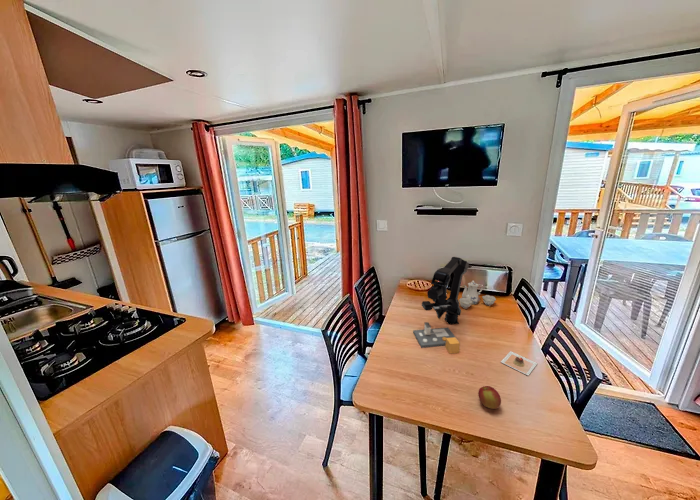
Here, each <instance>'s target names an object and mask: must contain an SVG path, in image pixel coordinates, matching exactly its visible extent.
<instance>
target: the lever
mask: <svg viewBox="0 0 700 500" xmlns="http://www.w3.org/2000/svg"><path fill="white" fill-rule="evenodd" d="M423 327H424V328H423V329H424V333H425V335H431V333H430V331H431V329H432V326H431V324H430V323H429V322H428V321H426V322H424V326H423Z"/></svg>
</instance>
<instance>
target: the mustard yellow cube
mask: <svg viewBox="0 0 700 500" xmlns="http://www.w3.org/2000/svg"><path fill="white" fill-rule="evenodd" d="M455 337H456V336H455ZM455 337H453V338H446V346H444V347H445V350H446V351H447V352H448V354H450V355H452V354H460V347H461V343H459V342H460V340H457V339H458V338H457V337H456V338H457V339H456V338H455Z"/></svg>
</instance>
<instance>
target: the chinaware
mask: <svg viewBox="0 0 700 500" xmlns="http://www.w3.org/2000/svg"><path fill="white" fill-rule="evenodd" d="M467 285H468V286H467ZM467 285H463V286H464V289H463V292H462V295H461V297H460V298H458V301H459V307H462V308H463V309H465V310H466V309H469V307H471V306H472V305H473V306H474V305H478V303H479V302H480V301H481V298H482V299H483V300H482V301H483V302H484V304H485V305H486V306H489V307H490V306H491V305H493V304H494V303H495V302H496V301H497V299H496V297H495V296H493V295H489V294H486V295H482V296H481V298H480V295H481V292H482V291H483V285H482V284H481V283H479V284H478V283H476V281H475V280H472V281H471V282H468V283H467ZM479 286H480V287H481V288H480V290H479V291H478V288H479Z"/></svg>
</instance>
